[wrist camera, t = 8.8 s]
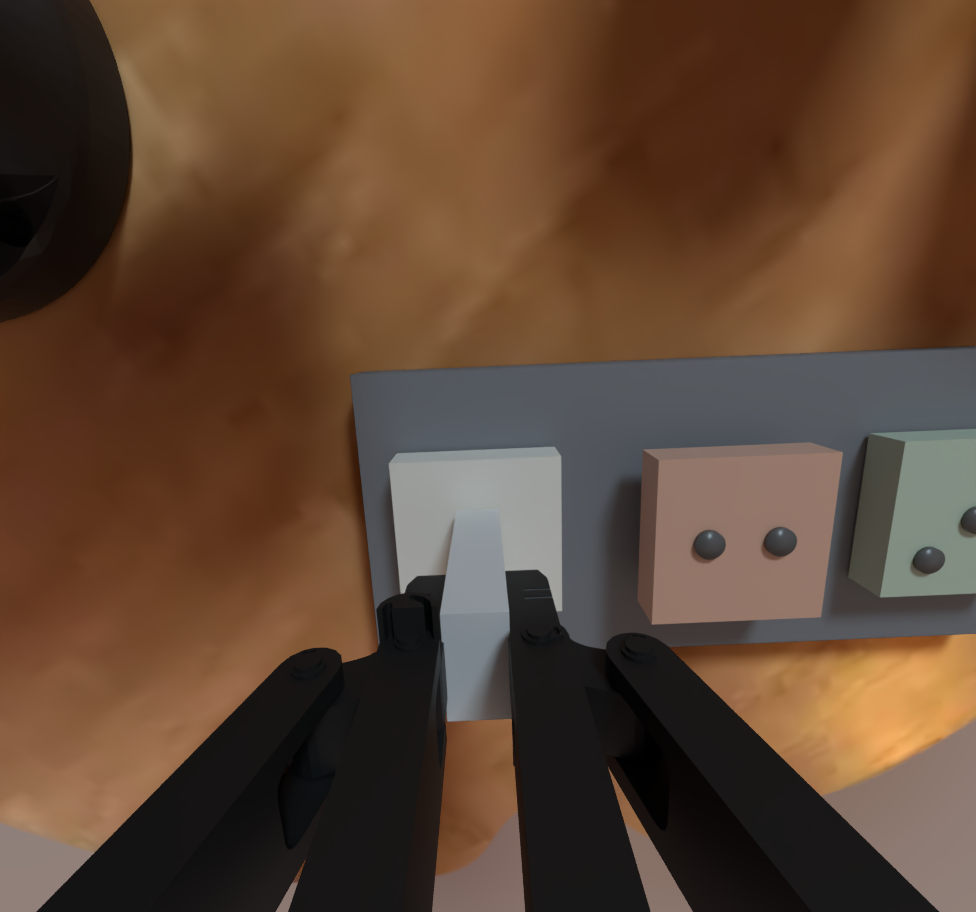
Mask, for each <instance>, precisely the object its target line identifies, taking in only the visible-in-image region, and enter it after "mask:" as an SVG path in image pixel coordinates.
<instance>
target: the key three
mask: <svg viewBox="0 0 976 912" xmlns="http://www.w3.org/2000/svg"><path fill="white" fill-rule="evenodd" d="M848 577H849V578H850V579H852V580H853V581H855V582H856V583H858V584H860V585H861V586H863V587H864V588H866V589H867V590H869V591H871V592H872V593H874V594H875V595H877V596H878V597H903V596H926V595H949V594H973V593H976V429H958V430H935V431H911V432H888V433H869V437H868V444H867V451H866V458H865V465H864V472H863V479H862V485H861V492H860V499H859V506H858V513H857V520H856V527H855V533H854V540H853V547H852V554H851V561H850V568H849V575H848Z"/></svg>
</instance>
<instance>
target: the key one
mask: <svg viewBox="0 0 976 912" xmlns="http://www.w3.org/2000/svg"><path fill="white" fill-rule="evenodd" d="M389 471H390V482H391V493H392V504H393V515H394V526H395V537H396V548H397V559H398V570H399V581H400V592H401V594H403V593H405V590H406V587H407V585H408V584H409V583H410V582H411V581H412V580H413V579H414V578H415V577H416V576H428V575H446V572H447V566H448V560H449V553H450V547H451V541H452V534H453V528H454V522H455V515H456V511H469V510H493V509H499V516H500V526H501V535H502V545H503V555H504V565H505V571H515V570H539V571H540V572H541V573H542V574H544V575H545V576H546V577H547V579H548V582H549V586H550V589H551V593H552V598H553V600H554V604H555V607H556V611H562V499H561V455H560V454H559V452H558V451H557V449H556V448H555V447H533V448H509V449H486V450H462V451H439V452H415V453H397V454H396V455H395V456H394V458H393V459H392V460H391V461H390V463H389Z"/></svg>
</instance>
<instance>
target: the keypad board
mask: <svg viewBox="0 0 976 912" xmlns="http://www.w3.org/2000/svg"><path fill="white" fill-rule="evenodd" d="M350 380H351V390H352V399H353V408H354V418H355V427H356V437H357V446H358V456H359V465H360V474H361V484H362V493H363V503H364V512H365V522H366V531H367V540H368V550H369V559H370V569H371V578H372V588H373V597H374V606H375V616H376V625H377V635H378V644H379V643H380V641H379V631H378V622H377V612H376V609H377V607H378V606H379V605H380V603H381V602H383V601H385V600H386V599H388V598H389V597H392V596H395V595H398V594H401V592H400V581H399V570H398V559H397V548H396V537H395V526H394V515H393V504H392V493H391V482H390V471H389V463H390V461H391V460H392V459H393V458H394V456H395V455H396V454H397V453H415V452H439V451H462V450H486V449H509V448H533V447H555V448H556V449H557V451H558V452H559V454H560V455H561V499H562V611H557V615H558V618H559V622H560V625H561V626H563V627H564V628H565V629H566V631H567V632H568V634H569V636H570V639H572V640H573V641H575V642H577V643H579V644H582V645H585V646H589V647H594V648H600V649H606V645H607V642H608V641H609V640H610V639H611V638H612V637H613V636H616V635H619V634H621V633H633V632H634V633H642V634H646V635H649V636H651V637H654V638H657V639H658V640H660V641H661V642H663V643H664V644H666V645H667V646H668V647H681V646H704V645H727V644H750V643H773V642H796V641H819V640H842V639H865V638H888V637H911V636H934V635H957V634H976V593H973V594H949V595H926V596H903V597H878V596H877V595H875V594H874V593H872V592H871V591H869V590H867V589H866V588H864V587H863V586H861V585H860V584H858V583H856V582H855V581H853V580H852V579H850V578H849V577H848V575H849V568H850V561H851V554H852V547H853V540H854V533H855V527H856V520H857V513H858V506H859V499H860V492H861V485H862V479H863V472H864V465H865V458H866V451H867V444H868V437H869V433H888V432H911V431H935V430H958V429H976V346H966V347H942V348H918V349H895V350H871V351H847V352H823V353H799V354H776V355H752V356H728V357H704V358H680V359H656V360H633V361H609V362H585V363H561V364H537V365H514V366H490V367H466V368H442V369H418V370H394V371H371V372H360V373H356V374H352V375H350ZM808 442H810V443H814V444H817V445H820V446H824V447H827V448H830V449H834V450H837V451H840V452H843V456H842V464H841V471H840V478H839V486H838V493H837V501H836V508H835V516H834V523H833V531H832V538H831V546H830V553H829V561H828V568H827V575H826V583H825V590H824V598H823V605H822V613H821V617H816V618H793V619H770V620H746V621H723V622H700V623H677V624H654V625H652V624H651V622H650V621H649V619H648V617H647V616H646V614H645V612H644V611H643V609H642V607H641V606H640V604H639V603H638V601H637V600H638V572H639V543H640V514H641V485H642V457H643V449H667V448H690V447H714V446H738V445H761V444H785V443H808Z"/></svg>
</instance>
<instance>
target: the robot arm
mask: <svg viewBox="0 0 976 912" xmlns="http://www.w3.org/2000/svg"><path fill="white" fill-rule="evenodd" d="M129 151H130V147H129V125H128V114H127V108H126V101H125V96H124V91H123V87H122V82H121V78H120V74H119V71H118V67H117V64H116V60H115V58H114V55H113V52H112V49H111V46H110V43H109V41H108V39H107V36H106V34H105V31H104V29H103V27H102V24H101V22H100V20H99V18H98V16H97V14H96V12H95V10H94V8H93V6H92V4H91V2H90V1H89V0H0V322H2V321H6V320H10V319H14V318H17V317H20V316H23V315H26V314H29V313H31V312H33V311H36V310H38V309H40V308H42V307H44V306H46V305H47V304H49V303H51V302H53V301H54V300H56V299H57V298H59V297H60V296H62V295H63V294H64V293H66V292H67V291H68V290H69V289H70V288H72V287H73V286H74V285H75V284H76V283H77V282H78V281H79V280H80V279H81V278H82V277H83V276H84V275H85V274H86V273H87V271H88V270H89V269H90V268H91V267H92V265H93V264H94V263H95V261H96V260H97V258H98V257H99V256H100V254H101V253H102V251H103V249H104V247H105V246H106V244H107V242H108V240H109V238H110V236H111V234H112V232H113V229H114V227H115V224H116V222H117V219H118V216H119V214H120V210H121V206H122V203H123V199H124V195H125V190H126V184H127V177H128V169H129ZM376 612H377V622H378V631H379V641H380V643H379V646H378V649H377V652H375V653H373V654H371V655H369V656H366V657H363V658H360V659H357V660H353V661H349V662H345V663H342V659H341V655H340V654H339V653H338V652H337V651H336V650H333V649H329V648H312V649H307V650H304V651H301V652H299V653H297V654H295V655H292V656H290V657H289V658H288V659H286V660H285V661H284V662H283V663H281V664H280V665H279V666H278V667H277V668H276V669H275V670H274V671H273V672H272V673H271V674H270V675H269V676H268V677H267V678H266V679H265V680H264V681H263V682H262V683H261V684H260V685H259V686H258V688H257V689H256V690H255V691H254V692H253V693H252V694H251V695H250V696H249V697H248V698H247V699H246V700H245V701H244V702H243V703H242V704H241V705H240V706H239V707H238V708H237V709H236V710H235V711H234V712H233V713H232V714H231V715H230V716H229V717H228V718H227V719H226V720H225V721H224V722H223V723H222V724H221V725H220V726H219V727H218V728H217V729H216V730H215V731H214V732H213V733H212V734H211V735H210V736H209V737H208V738H207V739H206V740H205V741H204V742H203V743H202V744H201V745H200V746H199V747H198V748H197V749H196V750H195V751H194V752H193V753H192V754H191V755H190V756H189V758H188V759H187V760H186V761H185V762H184V763H183V764H182V765H181V766H180V767H179V768H178V769H177V770H176V771H175V772H174V773H173V774H172V775H171V776H170V777H169V778H168V779H167V780H166V781H165V782H164V783H163V784H162V785H161V786H160V787H159V788H158V789H157V790H156V791H155V792H154V793H153V794H152V795H151V796H150V797H149V798H148V799H147V800H146V801H145V802H144V803H143V804H142V805H141V806H140V807H139V808H138V809H137V810H136V811H135V812H134V813H133V814H132V815H131V816H130V817H129V818H128V819H127V820H126V821H125V822H124V823H123V824H122V825H121V826H120V827H119V829H118V830H117V831H116V832H115V833H114V834H113V835H112V836H111V837H110V838H109V839H108V840H107V841H106V842H105V843H104V844H103V845H102V846H101V847H100V848H99V849H98V850H97V851H96V852H95V853H94V854H93V855H92V856H91V857H90V858H89V859H88V860H87V861H86V862H85V863H84V864H83V865H82V866H81V867H80V868H79V869H78V870H77V871H76V872H75V873H74V874H73V875H72V876H71V877H70V878H69V879H68V880H67V881H66V882H65V883H64V884H63V885H62V886H61V887H60V888H59V889H58V890H57V892H55V894H54V895H53V896H52V897H51V898H50V899H49V900H48V901H47V902H46V903H45V904H44V905H43V906H42V907H41V908H40V909H39V910H38V911H37V912H276V910H277V908H278V906H279V905H280V903H281V901H282V899H283V898H284V896H285V894H286V892H287V891H288V889H289V887H290V885H291V884H292V882H293V880H294V878H295V877H296V875H297V873H298V871H299V870H300V868H301V866H302V864H303V862H304V861H305V859H306V861H305V864H304V867H303V870H302V873H301V876H300V879H299V881H298V884H297V887H296V890H295V893H294V896H293V899H292V902H291V905H290V908H289V911H288V912H432V904H433V892H434V882H435V870H436V859H437V847H438V835H439V824H440V812H441V801H442V789H443V778H444V766H445V755H446V743H447V737H446V723H445V719H446V709H447V722H448V721H471V720H494V719H512V736H513V766H515V778H516V791H517V805H518V817H519V832H520V845H521V859H522V873H523V886H524V900H525V912H650V908H649V905H648V902H647V898H646V895H645V891H644V888H643V885H642V881H641V878H640V874H639V871H638V868H637V864H636V861H635V857H634V854H633V851H632V848H631V844H630V841H629V837H628V834H627V831H626V827H625V823H624V820H623V817H622V813H621V810H620V806H619V803H618V800H617V796H616V793H615V789H614V786H613V783H612V779H611V776H610V772H609V769H610V771H611V772H612V774H613V776H614V777H615V779H616V781H617V783H618V784H619V786H620V788H621V789H622V791H623V793H624V794H625V796H626V798H627V800H628V801H629V803H630V805H631V806H632V808H633V810H634V812H635V813H636V815H637V817H638V818H639V820H640V822H641V824H642V825H643V827H644V829H645V830H646V832H647V834H648V836H649V837H650V839H651V841H652V842H653V844H654V846H655V848H656V849H657V851H658V852H659V854H660V856H661V858H662V859H663V861H664V863H665V865H666V866H667V868H668V870H669V871H670V873H671V875H672V877H673V878H674V880H675V881H676V883H677V885H678V887H679V889H680V890H681V892H682V894H683V895H684V897H685V899H686V900H687V902H688V904H689V906H690V907H691V909H692V911H693V912H939V911H938V910H937V909H936V908H935V907H934V906H933V905H931V903H929V901H928V900H927V899H926V898H925V897H923V896H922V895H921V894H920V893H919V892H918V891H917V890H916V889H915V888H914V887H913V886H912V885H911V884H910V883H909V882H908V881H907V880H906V879H905V878H904V877H903V876H902V875H901V874H900V873H899V872H898V871H897V870H896V869H895V868H894V867H893V866H892V865H891V864H890V863H889V862H888V861H887V860H886V859H884V857H883V856H882V855H881V854H880V853H878V852H877V851H876V850H875V849H874V848H873V847H872V846H871V845H870V844H869V843H868V842H867V841H866V840H865V839H864V838H863V837H862V836H861V835H860V834H859V833H858V832H857V831H856V830H855V829H854V828H853V827H852V826H851V825H850V824H849V823H848V822H847V821H846V820H845V819H844V818H842V816H841V815H840V814H839V813H838V812H837V811H836V810H835V809H834V808H832V807H831V806H830V805H829V804H828V803H827V802H826V801H825V800H824V799H823V798H822V797H821V796H820V795H819V794H818V793H817V792H816V791H815V790H814V789H813V788H812V787H811V786H810V785H809V784H808V783H807V782H806V781H805V780H804V779H803V778H802V777H801V776H800V775H799V774H798V773H797V772H796V771H795V770H794V769H793V768H792V767H791V766H790V765H789V764H788V763H787V762H785V761H784V760H783V759H782V758H781V757H780V756H779V755H778V754H777V753H776V752H775V751H774V750H773V749H772V748H771V747H770V746H769V745H768V744H767V743H766V742H765V741H764V740H763V739H762V738H761V737H760V736H759V735H758V734H757V733H756V732H755V731H754V730H753V729H752V728H751V727H750V726H749V725H748V724H747V723H746V722H745V721H744V720H743V719H742V718H740V717H739V716H738V715H737V714H736V713H735V712H734V711H733V710H732V709H731V708H730V707H729V706H728V705H727V704H726V703H725V702H724V701H723V700H722V699H721V698H720V697H719V696H718V695H717V694H716V693H715V692H714V691H713V690H712V689H711V688H710V687H709V686H708V685H707V684H706V683H705V682H704V681H703V680H702V679H701V678H700V677H699V676H698V675H697V674H696V673H694V672H693V671H692V670H691V669H690V668H689V667H688V666H687V665H686V664H685V663H684V662H683V661H682V660H681V659H680V658H679V657H678V656H677V655H676V654H675V653H674V652H673V651H672V650H671V649H670V648H669V647H668V646H667V645H666V644H664V643H663V642H661V641H660V640H658V639H657V638H654V637H651V636H649V635H646V634H642V633H634V632H633V633H621V634H619V635H616V636H613V637H612V638H611V639H610V640H609V641H608V642H607V645H606V649H600V648H594V647H589V646H585V645H582V644H579V643H577V642H575V641H573V640H572V639H570V636H569V634H568V632H567V631H566V629H565V628H564V627H563V626H561V625H560V622H559V618H558V615H557V611H556V607H555V604H554V600H553V598H552V593H551V589H550V586H549V582H548V579H547V577H546V576H545V575H544V574H542V573H541V572H540V571H539V570H515V571H505V565H504V555H503V545H502V535H501V526H500V516H499V509H493V510H469V511H456V515H455V522H454V528H453V534H452V541H451V547H450V553H449V560H448V566H447V572H446V575H428V576H416V577H415V578H414V579H413V580H412V581H411V582H410V583H409V584H408V585H407V587H406V590H405V593H403V594H398V595H395V596H392V597H389V598H388V599H386V600H385V601H383V602H381V603H380V605H379V606H378V607H377V609H376ZM607 765H608V766H607ZM608 767H609V769H608ZM306 857H307V858H306Z"/></svg>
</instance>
